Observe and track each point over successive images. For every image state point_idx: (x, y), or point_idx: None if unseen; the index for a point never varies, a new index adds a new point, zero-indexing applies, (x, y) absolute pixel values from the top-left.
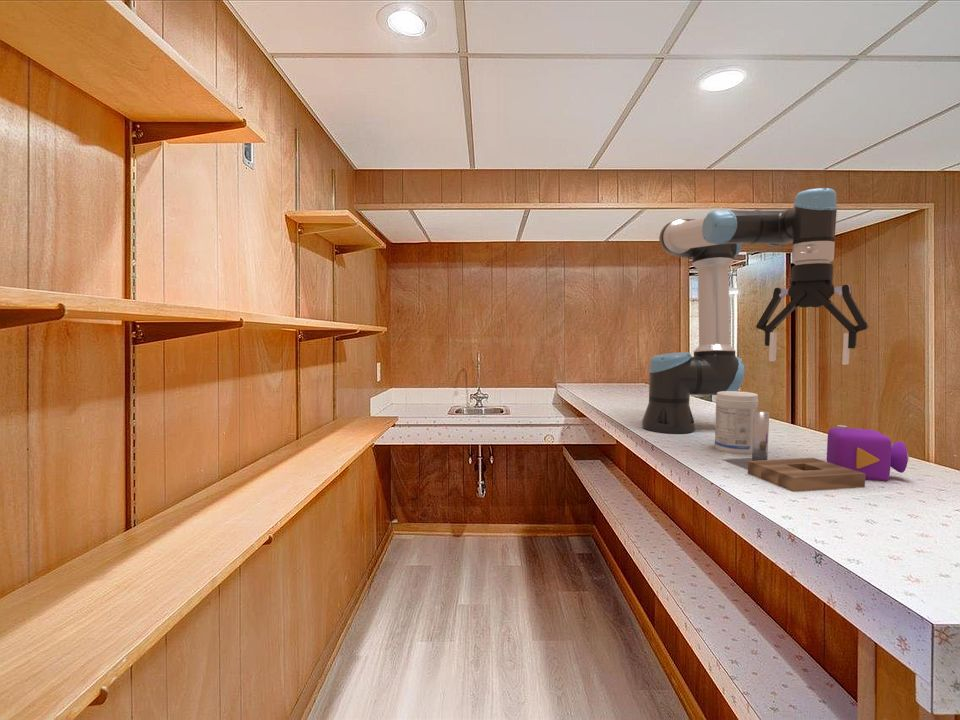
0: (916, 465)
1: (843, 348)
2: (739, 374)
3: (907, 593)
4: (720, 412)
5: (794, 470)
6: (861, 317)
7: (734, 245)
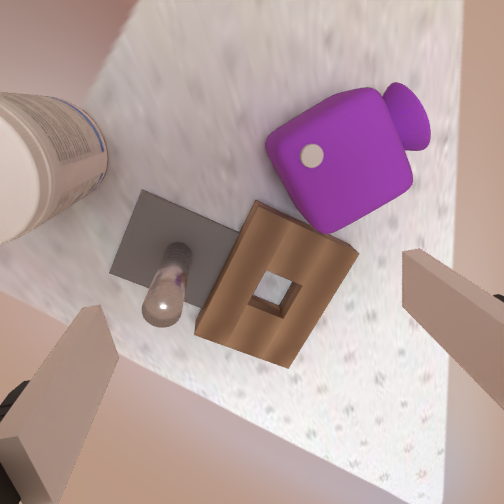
0: None
1: (448, 350)
2: None
3: (420, 495)
4: None
5: (272, 330)
6: None
7: None
